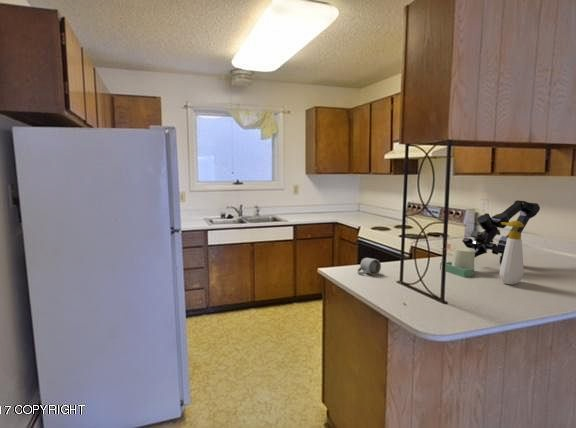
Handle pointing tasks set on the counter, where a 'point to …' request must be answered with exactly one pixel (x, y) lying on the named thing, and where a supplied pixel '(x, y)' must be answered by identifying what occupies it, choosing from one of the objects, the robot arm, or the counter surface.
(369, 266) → the ceramic mug
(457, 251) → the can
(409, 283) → the counter surface
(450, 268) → the green piece
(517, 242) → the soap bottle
